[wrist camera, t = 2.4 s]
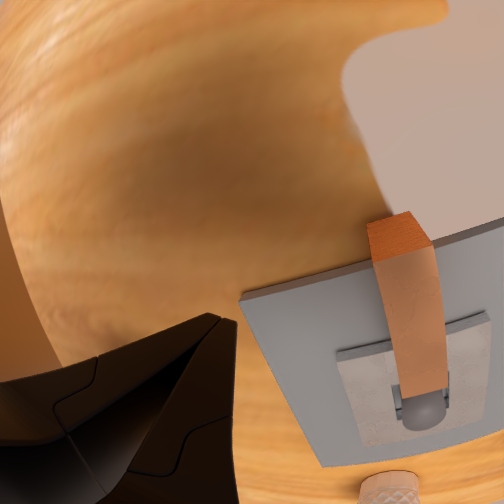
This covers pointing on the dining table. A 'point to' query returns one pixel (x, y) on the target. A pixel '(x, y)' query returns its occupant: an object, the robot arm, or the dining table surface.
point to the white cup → (390, 488)
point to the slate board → (373, 332)
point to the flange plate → (414, 342)
